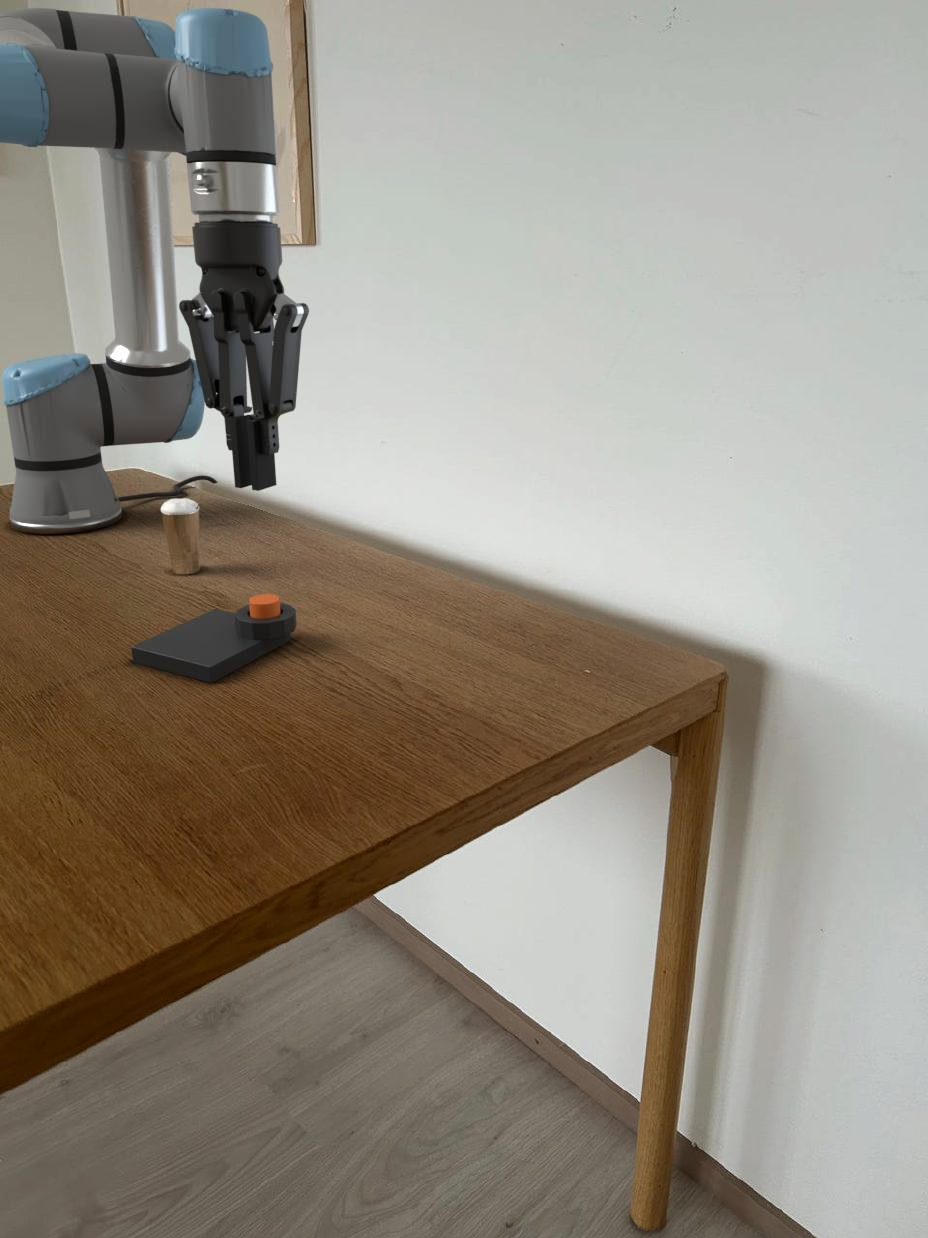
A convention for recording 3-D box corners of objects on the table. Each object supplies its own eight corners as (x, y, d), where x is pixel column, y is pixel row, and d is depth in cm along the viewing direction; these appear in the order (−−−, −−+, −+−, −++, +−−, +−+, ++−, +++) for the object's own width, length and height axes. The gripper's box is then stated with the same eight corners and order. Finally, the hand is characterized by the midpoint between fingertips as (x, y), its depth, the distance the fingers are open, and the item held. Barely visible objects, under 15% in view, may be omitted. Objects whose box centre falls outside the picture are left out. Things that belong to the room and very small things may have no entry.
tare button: (263, 608, 98) (262, 592, 97) (286, 613, 97) (285, 596, 96) (244, 617, 96) (242, 600, 95) (267, 622, 94) (266, 605, 94)
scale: (222, 620, 103) (220, 589, 102) (308, 639, 98) (306, 608, 97) (132, 662, 93) (128, 629, 92) (223, 686, 88) (220, 651, 87)
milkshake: (201, 578, 117) (193, 498, 113) (161, 575, 118) (151, 495, 114) (217, 566, 121) (210, 489, 117) (178, 564, 122) (170, 487, 118)
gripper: (142, 219, 83) (171, 485, 91) (275, 217, 77) (292, 503, 85) (202, 221, 89) (224, 470, 98) (329, 220, 83) (340, 486, 91)
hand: (255, 485), depth 91 cm, fingers closed
